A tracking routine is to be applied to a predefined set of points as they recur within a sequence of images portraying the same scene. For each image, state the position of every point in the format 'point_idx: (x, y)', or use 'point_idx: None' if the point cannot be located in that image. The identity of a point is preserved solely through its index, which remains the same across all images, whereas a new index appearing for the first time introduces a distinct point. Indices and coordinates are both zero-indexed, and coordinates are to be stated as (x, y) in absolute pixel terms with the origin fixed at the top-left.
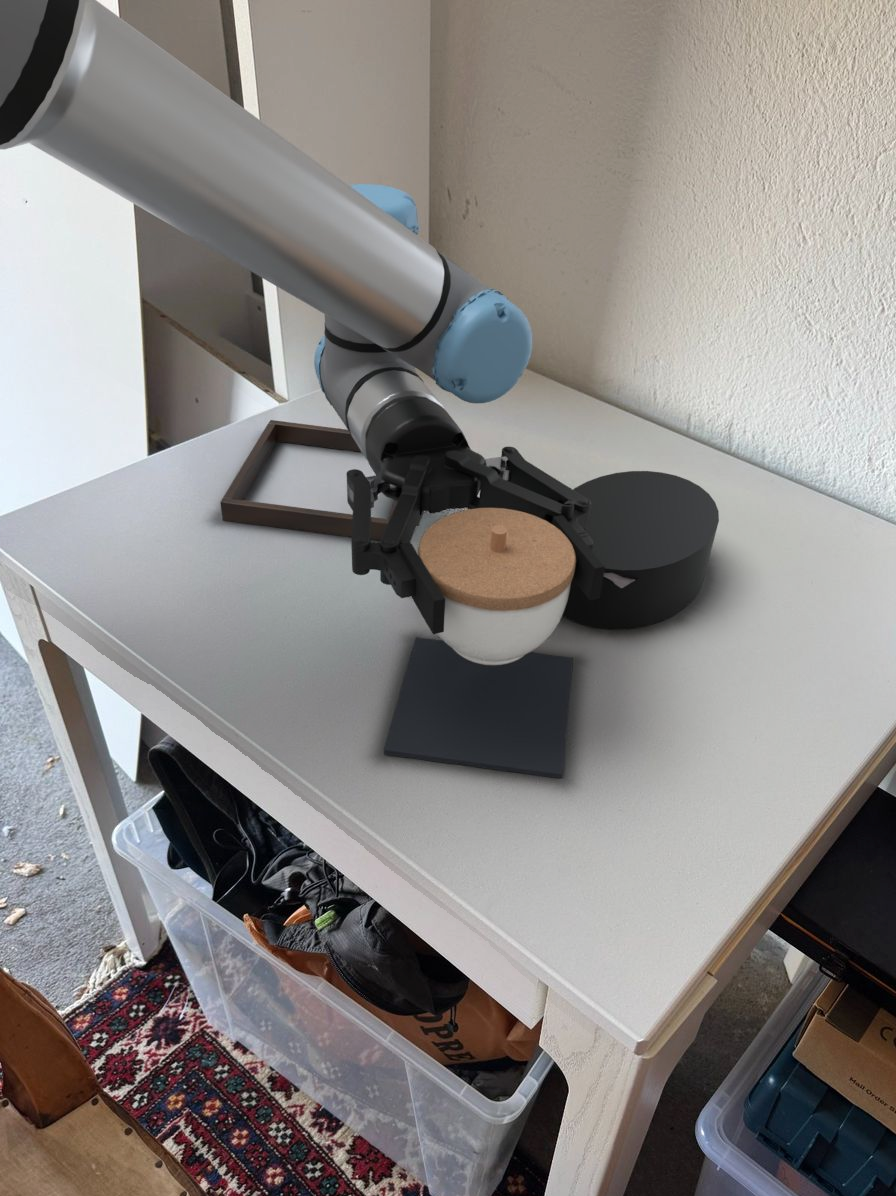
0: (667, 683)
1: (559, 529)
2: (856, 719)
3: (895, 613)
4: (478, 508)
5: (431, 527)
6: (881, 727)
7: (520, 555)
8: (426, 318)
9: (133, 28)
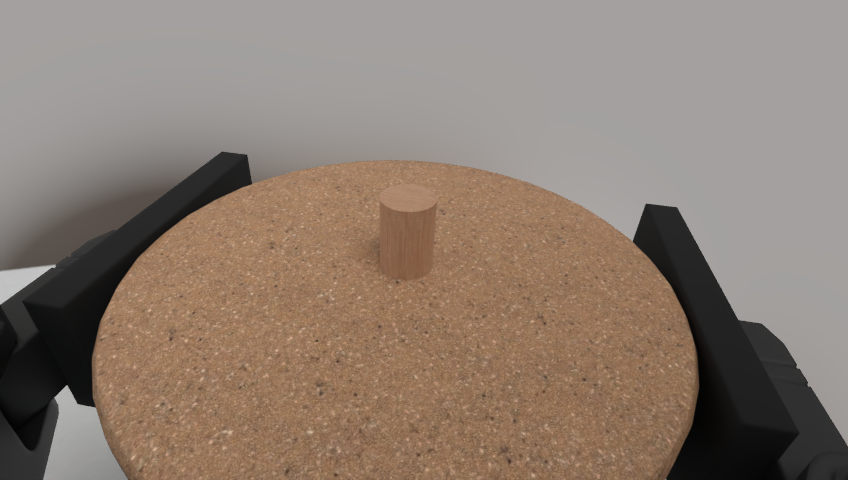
0: (74, 453)
1: (117, 280)
2: (2, 290)
3: None
4: None
5: None
6: (3, 273)
7: (367, 223)
8: None
9: None
